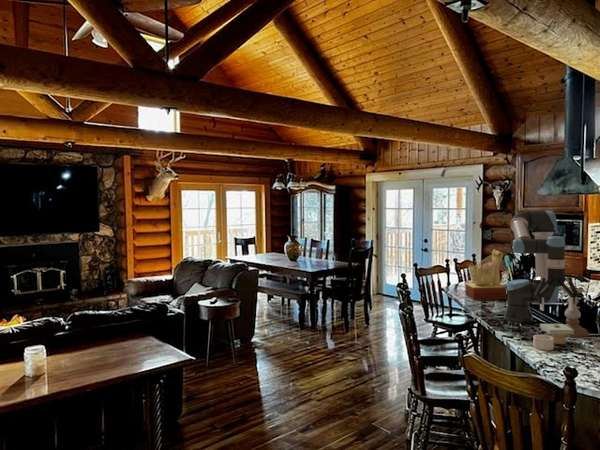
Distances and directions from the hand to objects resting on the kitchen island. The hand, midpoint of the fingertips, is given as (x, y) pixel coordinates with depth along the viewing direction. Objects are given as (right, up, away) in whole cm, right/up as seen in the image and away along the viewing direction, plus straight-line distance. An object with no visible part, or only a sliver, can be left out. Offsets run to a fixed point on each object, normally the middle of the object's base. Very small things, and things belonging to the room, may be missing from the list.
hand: (556, 310), depth 221 cm
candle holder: (+16, -15, +13) cm, 25 cm away
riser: (+1, -16, +1) cm, 16 cm away
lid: (0, -10, +1) cm, 10 cm away
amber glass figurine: (+10, -11, +105) cm, 106 cm away
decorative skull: (+29, -9, +143) cm, 147 cm away
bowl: (-10, -17, -7) cm, 21 cm away
